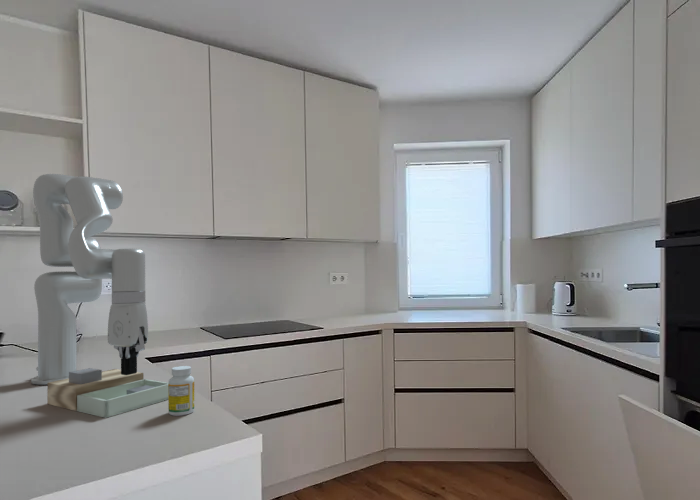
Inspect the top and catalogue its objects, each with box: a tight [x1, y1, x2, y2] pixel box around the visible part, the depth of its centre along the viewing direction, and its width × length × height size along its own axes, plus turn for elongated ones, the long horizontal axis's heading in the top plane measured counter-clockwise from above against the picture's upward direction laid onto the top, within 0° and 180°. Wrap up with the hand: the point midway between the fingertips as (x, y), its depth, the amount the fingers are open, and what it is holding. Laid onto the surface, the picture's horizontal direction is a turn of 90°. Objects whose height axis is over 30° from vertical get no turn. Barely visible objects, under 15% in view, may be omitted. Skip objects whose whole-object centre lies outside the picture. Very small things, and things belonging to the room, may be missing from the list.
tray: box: [77, 378, 168, 419], centre depth 108 cm, size 11×17×4 cm, turn 149°
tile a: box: [127, 385, 154, 395], centre depth 110 cm, size 5×5×2 cm
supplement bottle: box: [167, 365, 195, 417], centre depth 101 cm, size 5×5×10 cm
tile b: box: [69, 367, 102, 384], centre depth 111 cm, size 5×5×2 cm
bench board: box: [46, 368, 145, 412], centre depth 114 cm, size 12×17×5 cm
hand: (129, 373), depth 113 cm, fingers closed
